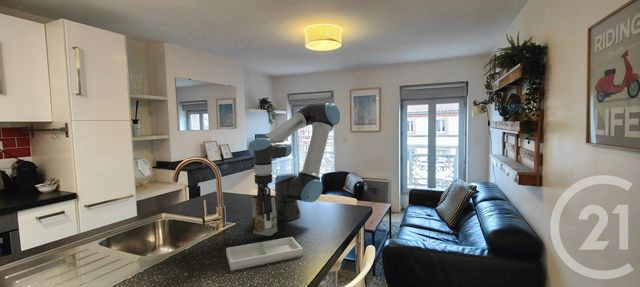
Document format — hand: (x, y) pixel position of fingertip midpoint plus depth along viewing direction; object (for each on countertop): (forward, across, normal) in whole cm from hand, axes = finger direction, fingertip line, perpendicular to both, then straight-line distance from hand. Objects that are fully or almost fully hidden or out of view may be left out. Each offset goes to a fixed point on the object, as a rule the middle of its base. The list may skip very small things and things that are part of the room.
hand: (264, 223), depth 129 cm
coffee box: (+4, 0, 0) cm, 4 cm away
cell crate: (+6, +17, -4) cm, 19 cm away
